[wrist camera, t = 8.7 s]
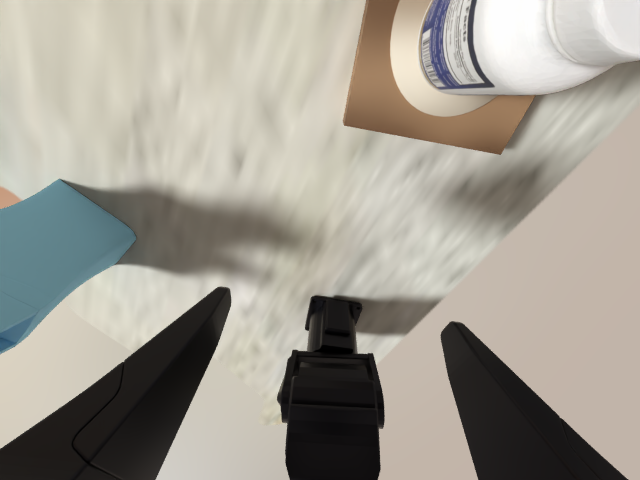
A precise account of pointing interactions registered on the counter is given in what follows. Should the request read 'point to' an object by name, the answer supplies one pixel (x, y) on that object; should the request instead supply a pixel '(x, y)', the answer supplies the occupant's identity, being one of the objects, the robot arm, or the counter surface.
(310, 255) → the counter surface
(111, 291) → the counter surface
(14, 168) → the counter surface
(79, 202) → the vase
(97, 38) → the counter surface
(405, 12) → the walnut base
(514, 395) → the robot arm
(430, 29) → the pill bottle
